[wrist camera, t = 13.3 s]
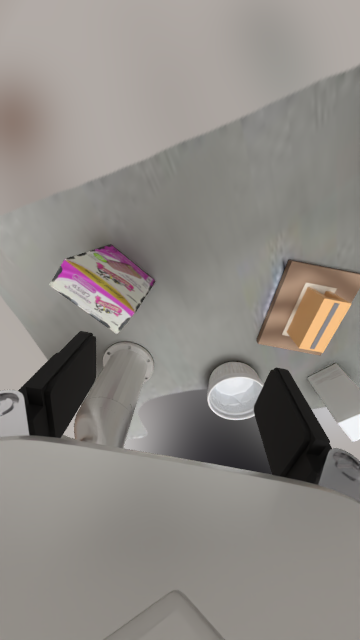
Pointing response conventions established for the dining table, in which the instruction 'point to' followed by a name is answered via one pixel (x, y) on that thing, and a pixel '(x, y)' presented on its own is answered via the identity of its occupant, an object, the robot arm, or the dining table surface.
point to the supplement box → (339, 398)
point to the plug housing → (317, 319)
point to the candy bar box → (103, 285)
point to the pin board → (291, 295)
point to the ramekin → (233, 390)
